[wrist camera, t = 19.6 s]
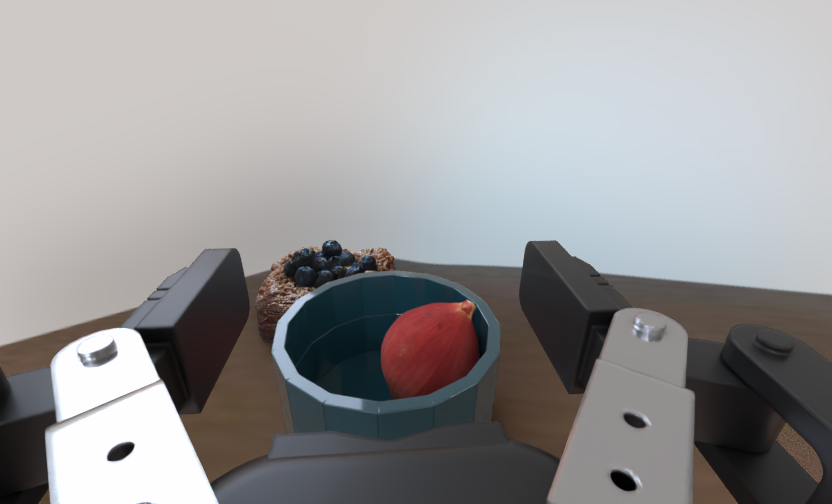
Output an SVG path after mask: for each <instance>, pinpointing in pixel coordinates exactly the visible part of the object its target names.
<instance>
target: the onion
mask: <svg viewBox="0 0 832 504" xmlns="http://www.w3.org/2000/svg"><path fill="white" fill-rule="evenodd" d="M475 308H476V306H475V305H474V303H473V302H471V301H469V300H466V301H464V302H460V303H431V304H427V305H424V306H421V307H418V308H415V309H412V310H409V311H406V312H405V313H403V314H402V315H401V316H399V317H398V318H397V319H396V321H395V322H394V323H393V324H392V325H391V327H390V328H389V330H388V331H387V333H386V334H385V337H384V340H383V342H382V345H381V367H382V371H383V375H384V378H385V380H386V382H387V385H388V387H389V389H390V393H391V397H392V398H393V400H395V399H402V398H409V397H416V396H423V395H429V394H431V393H433V392H435V391H437V390H439V389H441V388H443V387H445V386H447V385H449V384H451V383H453V382H455V381H457V380H459V379H461V378H463V377H465V376H467V374H468V373H469V372H470V371H471V369H472V368H473V367H474V366H475V364H476V363H477V362H478V360H479V342H478V337H477V334H476V331H475V328H474V325H473V323H472V315H473V312H474V310H475Z"/></svg>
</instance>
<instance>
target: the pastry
mask: <svg viewBox="0 0 832 504" xmlns="http://www.w3.org/2000/svg"><path fill="white" fill-rule="evenodd" d="M393 260H394V257H393V256H391V254H389V253H388V252H387V251H386V249H383V248H378V249H372V248H370V249H366V250H361V251H359V252H357V251H349V250H347V249H342V248H341V245H340V244H338V242H336V241H333V240H329V241H326V242H325V243H324V244H323V246H322V250H321V249H318V247H308V248H304V247H303V248H301V249H299V250H297V251H291V252H290V253H289V255H288V256H285V257H283V258H282V259H281V261H278V262H277V264H273V265H272V267H271V270H272V271H273V272H271V274H270V275H269V276H268V277H267V278H266V279H265V280H264V282H263V283H262V287H261V288H259V291H258V292H259V293H258V296H257V298H256V303H255V307H256V310H257V316H258V324H259V327H258V328H259V331H260V336H261V337H262V339H263V340H265V341H268V342H272V343H273V339H274V334H275V329H276V324H277V322H278V321H279V320H280V318H281V317H282V316H283V315H284V314H285V313H286V311H287V310H288V309H289V308H290V307H291V306H292V305H293V303H294V302H295V301H296V300H298V299H299V298H301V297H303V296H304V295H306V294H308V293H310V292H311V291H313V290H315V289H317V288H318V287H320V286H322V285H324V284H325V283H327V282H331V281H334V280H338V279H341V278H345V277H348V276H352V275H355V274H359V273H368V272H380V271H392V270H395V271H396V269H395V268H394V263H393Z"/></svg>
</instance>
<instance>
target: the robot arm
mask: <svg viewBox="0 0 832 504" xmlns="http://www.w3.org/2000/svg"><path fill="white" fill-rule="evenodd" d="M519 297H520V304H521V308H522V310H523V312H524V314H525V316H526V318H527V319H528V321H529V323H530V325H531V327H532V328H533V330H534V332H535V334H536V336H537V337H538V339H539V341H540V343H541V345H542V346H543V348H544V350H545V352H546V354H547V355H548V357H549V359H550V361H551V363H552V364H553V366H554V368H555V370H556V372H557V373H558V375H559V377H560V379H561V381H562V382H563V384H564V386H565V388H566V390H567V391H568V393H569V394H581V393H584V395H583V398H582V401H581V404H580V407H579V410H578V412H577V415H576V418H575V421H574V424H573V427H572V429H571V432H570V435H569V438H568V441H567V444H566V446H565V449H564V452H563V455H562V458H561V460H560V459H558V458H557V457H555V456H553V455H551V454H549V453H547V452H545V451H543V450H541V449H539V448H536V447H534V446H531V445H528V444H525V443H522V442H518V441H514V440H509V439H507V437H506V434H505V431H504V428H503V425H502V422H501V421H489V422H473V423H456V424H445V425H442V426H439V427H435V428H432V429H428V430H425V431H422V432H418V433H415V434H411V435H408V436H405V437H401V438H398V439H394V440H383V439H377V438H371V437H365V436H359V435H353V434H347V433H341V432H335V431H322V432H306V433H289V434H274V437H273V440H272V444H271V447H270V451H269V454H268V455H265V456H261V457H259V458H256V459H254V460H251V461H248V462H246V463H244V464H242V465H240V466H238V467H236V468H234V469H232V470H230V471H229V472H227V473H226V474H224V475H222V476H221V477H219V478H218V479H216V480H215V481H213V482H212V483H211V484H210V483H209V481H208V479H207V477H206V475H205V472H204V470H203V468H202V466H201V464H200V461H199V459H198V457H197V455H196V452H195V450H194V448H193V446H192V444H191V441H190V439H189V437H188V435H187V433H186V430H185V428H184V426H183V424H182V421H181V419H180V417H179V414H197V413H201V411H202V409H203V407H204V405H205V403H206V401H207V399H208V397H209V395H210V393H211V391H212V389H213V387H214V385H215V383H216V381H217V379H218V377H219V375H220V373H221V371H222V369H223V367H224V365H225V363H226V361H227V359H228V357H229V355H230V353H231V351H232V349H233V347H234V345H235V343H236V341H237V339H238V337H239V335H240V333H241V331H242V329H243V327H244V325H245V323H246V322H247V319H248V315H249V296H248V291H247V286H246V281H245V276H244V272H243V267H242V262H241V257H240V254H239V252H238V250H237V249H235V248H228V249H205V250H204V251H203V252H202V253H201V254H200V255H199V256H198V257H197V259H196V260H195V261H194V262H193V263H192V264H191V265H190V266H189V267H185V268H183V269H181V270H179V271H178V272H176V273H174V274H173V275H171V276H169V277H167V278H166V279H165V280H164V281H163V282H162V284H161V285H160V286H159V287H158V288H157V291H154V292H153V293H152V294H151V295H150V296H149V297H148V298H147V299H148V300H147V301H144V302H143V303H142V304H141V305H140V306H139V308H138V309H137V310H136V311H135V312H134V313H133V314H132V315H131V316H130V317H129V318H128V319H127V320H126V321H125V322H124V323H123V324H122V325H121V326H120V327H119V328H115V329H108V330H103V331H99V332H96V333H93V334H90V335H87V336H85V337H83V338H80V339H78V340H76V341H74V342H73V343H71V344H69V345H68V346H66V347H65V348H63V349H62V350H61V351H60V352H59V353H58V354H57V355H56V356H55V357H54V358H53V360H52V362H51V366H50V367H46V368H41V369H37V370H32V371H28V372H23V373H19V374H15V375H10V376H5V374H4V372H3V371H2V369H1V367H0V504H38V503H39V501H40V500H41V498H42V497H43V496H44V494H45V493H46V491H47V490H48V488H49V492H50V504H693V462H694V444H695V445H696V447H697V448H698V450H699V451H700V452H701V454H702V455H703V456H704V458H705V459H706V460H707V462H708V463H709V464H710V466H711V467H712V469H713V470H714V471H715V473H716V474H717V475H718V477H719V478H720V479H721V481H722V482H723V483H724V485H725V486H726V488H727V489H728V490H729V492H730V493H731V494H732V496H733V497H734V498H735V500H736V501H737V502H738V504H832V363H831V362H830V361H828V360H827V359H825V358H824V357H823V356H821V355H820V354H819V353H817V352H816V351H814V350H813V349H812V348H810V347H809V346H808V345H806V344H805V343H803V342H802V341H800V340H798V339H796V338H794V337H792V336H790V335H788V334H786V333H783V332H781V331H778V330H775V329H772V328H768V327H764V326H759V325H752V324H741V325H736V326H734V327H732V328H731V329H730V332H729V334H728V336H727V339H726V341H725V343H719V342H712V341H706V340H700V339H693V338H688V335H687V333H686V331H685V330H684V328H683V327H682V326H681V325H680V324H678V323H677V322H676V321H674V320H673V319H671V318H669V317H667V316H665V315H663V314H660V313H658V312H654V311H651V310H647V309H641V308H633V307H632V306H631V305H630V304H629V303H628V302H627V301H626V300H625V299H624V298H623V297H622V296H621V295H620V294H619V293H618V292H617V291H616V290H615V289H614V288H613V287H612V286H611V285H609V283H608V282H607V281H606V280H605V279H604V278H603V277H600V274H599V273H598V272H597V271H596V270H595V269H594V268H593V267H592V266H591V265H590V264H588V263H586V262H584V261H582V260H580V259H578V258H576V257H572V256H571V255H570V254H569V253H568V252H567V251H566V250H565V249H564V248H563V247H562V246H561V245H560V244H559V243H558V242H557V241H529V242H528V243H527V245H526V248H525V254H524V261H523V268H522V275H521V282H520V290H519ZM786 422H787V423H788V424H789V425H790V426H791V427H792V428H793V429H794V430H795V431H796V432H797V433H798V434H799V435H800V436H801V437H802V438H803V439H804V440H805V441H806V442H807V443H808V444H809V445H810V446H811V447H812V448H813V449H814V450H815V452H816V453H817V455H818V456H819V458H820V461H821V463H822V467H823V477H822V480H821V482H820V483H819V484H818V483H817V482H816V481H815V480H814V479H813V478H812V477H811V476H810V475H809V474H808V473H807V472H806V471H805V470H804V469H803V468H802V467H801V466H800V465H799V464H798V463H797V461H796V460H795V459H794V458H793V457H792V456H791V455H790V454H789V453H788V452H787V451H786V450H785V449H784V448H783V447H782V446H781V445H780V444H779V443H778V442H777V441H776V439H777V437H778V435H779V433H780V432H781V430H782V428H783V426H784V425H785V423H786Z"/></svg>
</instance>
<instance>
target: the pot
mask: <svg viewBox="0 0 832 504" xmlns="http://www.w3.org/2000/svg"><path fill="white" fill-rule="evenodd" d="M466 300H469V301H471V302H473V303H474V305H475V306H476V308H475V310H474V312H473V315H472V323H473V325H474V328H475V331H476V334H477V337H478V342H479V360H478V362H477V363H476V364H475V366H474V367H473V368H472V369H471V371H470V372H469V373H468V374H467V376H465V377H463V378H461V379H459V380H457V381H455V382H453V383H451V384H449V385H447V386H445V387H443V388H441V389H439V390H437V391H435V392H433V393H431V394H429V395H423V396H416V397H409V398H402V399H395V400H393V398H392V397H391V393H390V389H389V387H388V385H387V382H386V380H385V378H384V375H383V371H382V367H381V345H382V342H383V340H384V337H385V334H386V333H387V331H388V330H389V328H390V327H391V325H392V324H393V323H394V322H395V321H396V319H397V318H398V317H399V316H401V315H402V314H403V313H405V312H406V311H409V310H412V309H415V308H418V307H421V306H424V305H427V304H431V303H460V302H464V301H466ZM500 330H501V327H500V324H499V323H498V321H497V319H496V318H495V316H494V315H493V313H492V311H491V310H490V308H489V307H488V305H487V303H486V302H485V301H484V300H483V299H481V298H480V297H478V296H477V295H475V294H474V293H472V292H471V291H469V290H468V289H467V288H465V287H464V286H462V285H460V284H458V283H455V282H452V281H449V280H446V279H443V278H440V277H437V276H434V275H431V274H424V273H415V272H405V271H395V270H392V271H380V272H368V273H359V274H355V275H352V276H348V277H345V278H341V279H338V280H334V281H331V282H327V283H325V284H324V285H322V286H320V287H318V288H317V289H315V290H313V291H311V292H310V293H308V294H306V295H304V296H303V297H301V298H299V299H298V300H296V301H295V302H294V303H293V305H292V306H291V307H290V308H289V309H288V310H287V311H286V313H285V314H284V315H283V316H282V317H281V318H280V320H279V321H278V322H277V324H276V329H275V334H274V339H273V344H272V349H271V355H272V360H273V365H274V370H275V376H276V381H277V386H278V391H279V396H280V401H281V406H282V411H283V417H284V422H285V427H286V432H287V434H289V433H306V432H322V431H335V432H341V433H347V434H353V435H359V436H365V437H371V438H377V439H383V440H394V439H398V438H401V437H405V436H408V435H411V434H415V433H418V432H422V431H425V430H428V429H432V428H435V427H439V426H442V425H445V424H456V423H473V422H489V421H491V420H492V412H493V404H494V395H495V387H496V379H497V371H498V363H499V355H500Z"/></svg>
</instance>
